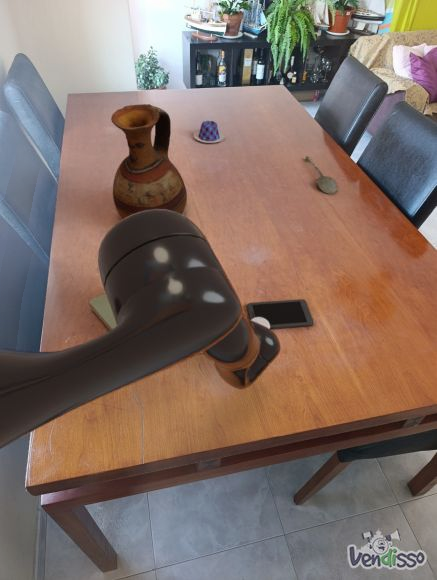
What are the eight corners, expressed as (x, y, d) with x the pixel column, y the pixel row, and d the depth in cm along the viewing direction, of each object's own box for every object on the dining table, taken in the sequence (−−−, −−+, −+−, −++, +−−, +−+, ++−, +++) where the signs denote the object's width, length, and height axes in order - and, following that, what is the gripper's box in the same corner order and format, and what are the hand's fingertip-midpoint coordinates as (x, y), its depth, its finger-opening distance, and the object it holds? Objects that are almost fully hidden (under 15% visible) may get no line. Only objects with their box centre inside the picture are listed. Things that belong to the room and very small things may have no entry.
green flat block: (126, 351, 76) (124, 342, 73) (91, 310, 82) (88, 301, 80) (194, 307, 84) (194, 298, 82) (158, 273, 91) (157, 265, 89)
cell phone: (314, 325, 82) (315, 323, 81) (252, 330, 80) (252, 328, 80) (304, 300, 87) (305, 298, 86) (246, 305, 85) (246, 302, 85)
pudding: (220, 146, 137) (221, 132, 133) (189, 141, 139) (189, 127, 135) (227, 132, 145) (228, 119, 141) (198, 128, 147) (198, 114, 143)
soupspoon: (319, 196, 119) (338, 195, 120) (323, 187, 116) (342, 186, 117) (298, 159, 133) (315, 159, 134) (301, 150, 130) (318, 150, 131)
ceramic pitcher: (102, 223, 104) (77, 112, 82) (142, 188, 116) (130, 84, 94) (164, 244, 99) (154, 132, 77) (198, 205, 111) (199, 100, 89)
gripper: (213, 262, 67) (159, 219, 75) (146, 301, 60) (94, 249, 68) (212, 290, 72) (161, 248, 81) (150, 329, 66) (102, 278, 74)
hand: (131, 248), depth 74 cm, fingers closed on syrup box, 7 cm apart
